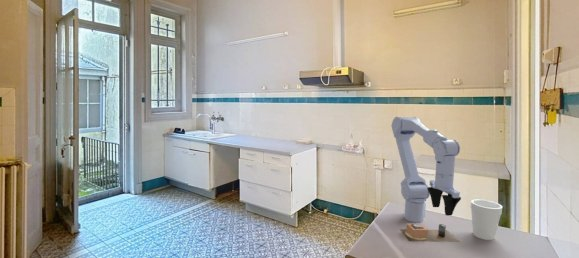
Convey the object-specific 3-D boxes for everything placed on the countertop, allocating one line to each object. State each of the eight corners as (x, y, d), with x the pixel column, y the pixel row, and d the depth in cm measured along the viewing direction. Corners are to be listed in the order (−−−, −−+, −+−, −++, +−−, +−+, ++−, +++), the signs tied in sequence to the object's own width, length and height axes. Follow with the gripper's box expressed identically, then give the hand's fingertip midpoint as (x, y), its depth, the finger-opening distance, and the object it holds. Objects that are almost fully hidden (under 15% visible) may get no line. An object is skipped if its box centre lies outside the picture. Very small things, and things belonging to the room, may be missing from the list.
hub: (401, 230, 108) (401, 220, 108) (420, 230, 109) (421, 220, 108) (411, 240, 101) (411, 230, 100) (432, 239, 101) (432, 229, 101)
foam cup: (496, 235, 107) (499, 202, 106) (502, 247, 99) (505, 210, 98) (466, 230, 111) (469, 197, 110) (469, 240, 103) (472, 205, 102)
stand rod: (439, 233, 106) (439, 223, 106) (445, 235, 105) (446, 225, 104) (437, 235, 105) (438, 225, 104) (444, 237, 103) (444, 227, 103)
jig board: (446, 232, 109) (446, 230, 109) (460, 244, 100) (460, 241, 100) (399, 231, 109) (399, 229, 109) (408, 243, 100) (409, 240, 100)
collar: (406, 231, 107) (406, 223, 107) (419, 231, 107) (420, 223, 107) (413, 238, 102) (413, 230, 102) (427, 237, 102) (427, 229, 102)
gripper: (422, 168, 109) (420, 203, 110) (446, 179, 94) (443, 219, 96) (440, 168, 109) (438, 203, 111) (466, 179, 95) (463, 218, 96)
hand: (442, 210), depth 103 cm, fingers open, 7 cm apart
